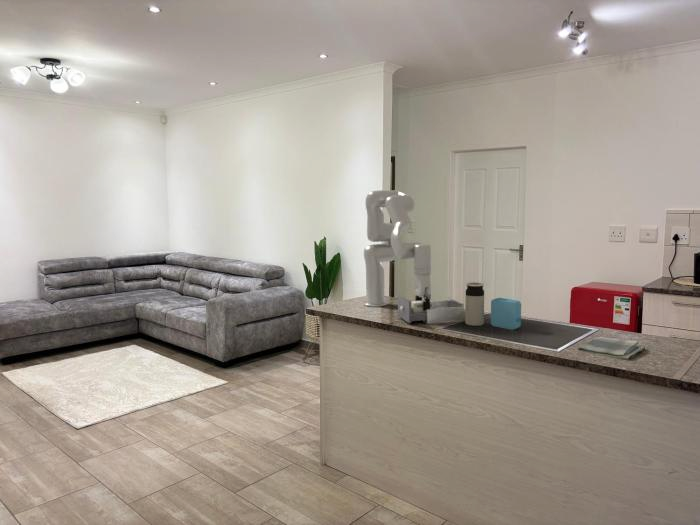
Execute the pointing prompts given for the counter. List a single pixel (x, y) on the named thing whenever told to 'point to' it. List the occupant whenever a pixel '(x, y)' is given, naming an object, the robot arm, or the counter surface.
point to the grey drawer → (408, 310)
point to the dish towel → (612, 347)
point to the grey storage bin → (445, 312)
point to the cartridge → (420, 306)
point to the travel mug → (474, 304)
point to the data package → (506, 313)
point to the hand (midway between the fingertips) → (422, 308)
